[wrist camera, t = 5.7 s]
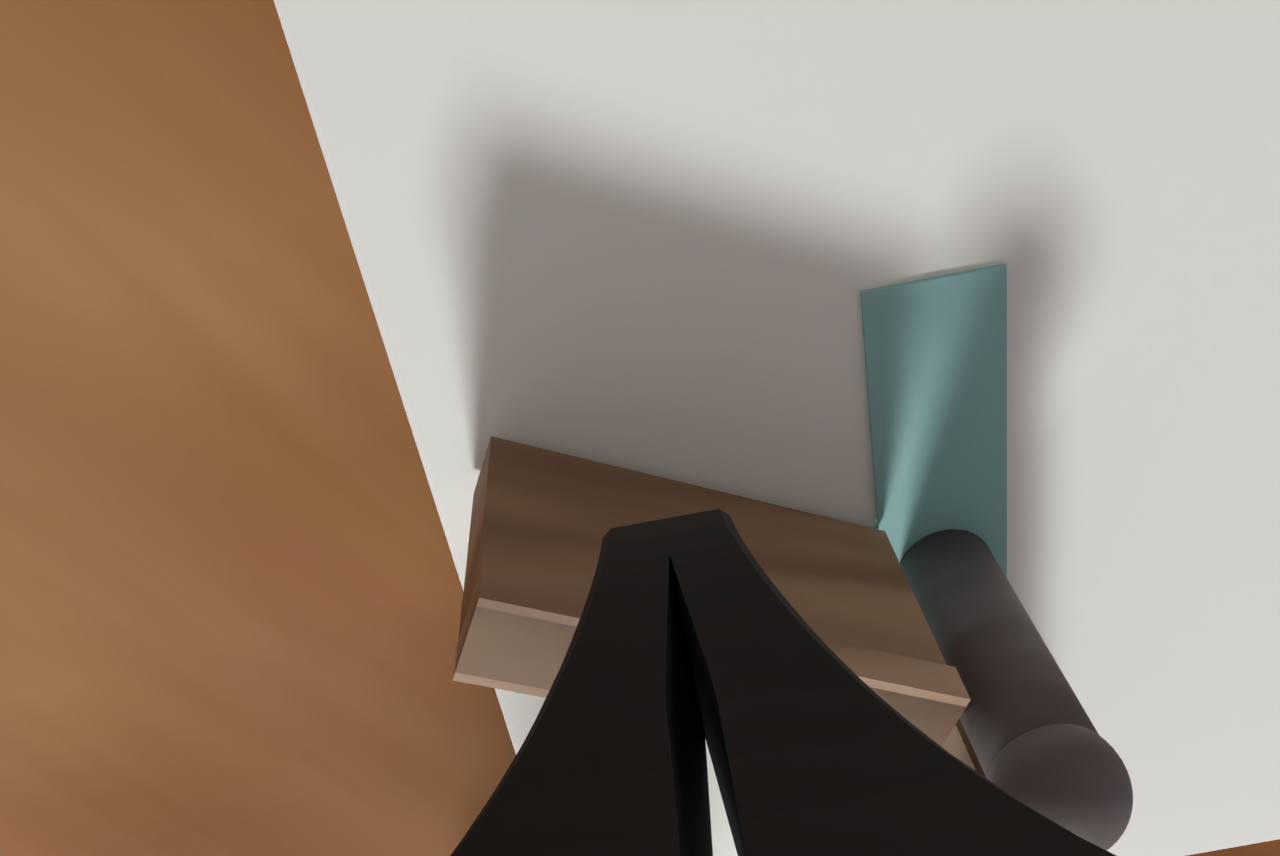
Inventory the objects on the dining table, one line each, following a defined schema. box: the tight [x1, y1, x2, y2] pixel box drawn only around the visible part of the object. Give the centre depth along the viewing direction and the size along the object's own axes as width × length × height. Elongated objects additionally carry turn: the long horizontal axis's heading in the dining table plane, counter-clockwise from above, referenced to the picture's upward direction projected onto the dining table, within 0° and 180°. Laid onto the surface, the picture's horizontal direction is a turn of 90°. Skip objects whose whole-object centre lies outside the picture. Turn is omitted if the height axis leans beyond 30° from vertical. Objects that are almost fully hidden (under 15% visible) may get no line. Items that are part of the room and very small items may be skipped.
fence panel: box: [453, 436, 971, 747], centre depth 18 cm, size 2×7×4 cm, turn 72°
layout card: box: [274, 0, 1280, 856], centre depth 20 cm, size 18×24×1 cm
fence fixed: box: [900, 529, 1133, 851], centre depth 20 cm, size 2×10×6 cm, turn 10°
